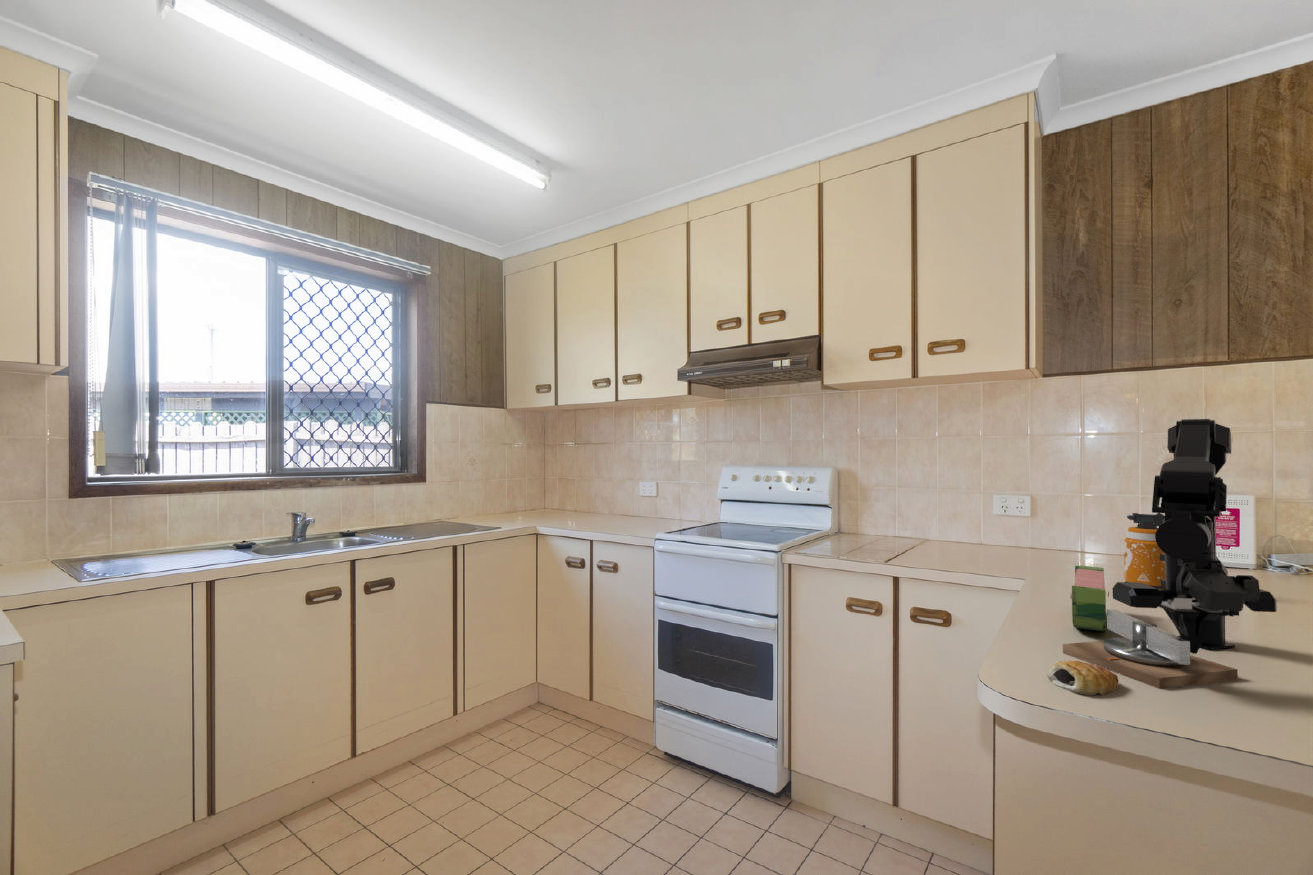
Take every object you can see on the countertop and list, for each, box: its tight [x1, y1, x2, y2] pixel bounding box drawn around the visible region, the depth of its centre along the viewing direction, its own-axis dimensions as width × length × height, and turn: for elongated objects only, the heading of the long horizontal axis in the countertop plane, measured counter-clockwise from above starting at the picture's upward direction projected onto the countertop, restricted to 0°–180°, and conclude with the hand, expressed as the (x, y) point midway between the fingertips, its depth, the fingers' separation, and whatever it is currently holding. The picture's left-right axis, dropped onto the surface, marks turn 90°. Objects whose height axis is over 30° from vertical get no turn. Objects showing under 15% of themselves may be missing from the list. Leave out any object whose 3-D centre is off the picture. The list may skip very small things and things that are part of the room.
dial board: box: [1062, 639, 1239, 689], centre depth 99 cm, size 16×16×2 cm
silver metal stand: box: [1104, 608, 1191, 666], centre depth 99 cm, size 11×16×5 cm
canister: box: [1123, 512, 1166, 589], centre depth 150 cm, size 9×11×20 cm
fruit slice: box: [1070, 565, 1110, 632], centre depth 122 cm, size 26×6×10 cm, turn 144°
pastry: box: [1046, 660, 1120, 696], centre depth 90 cm, size 9×7×4 cm
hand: (1192, 652), depth 91 cm, fingers closed
